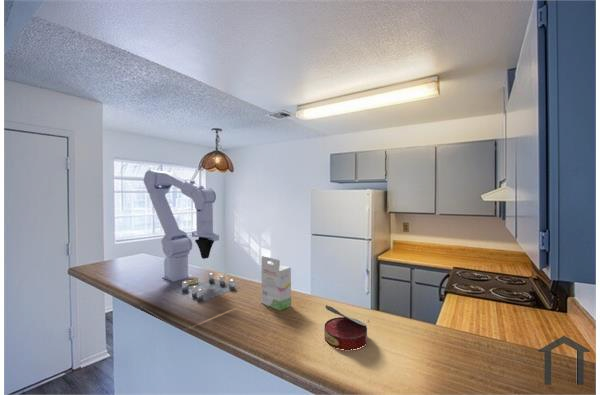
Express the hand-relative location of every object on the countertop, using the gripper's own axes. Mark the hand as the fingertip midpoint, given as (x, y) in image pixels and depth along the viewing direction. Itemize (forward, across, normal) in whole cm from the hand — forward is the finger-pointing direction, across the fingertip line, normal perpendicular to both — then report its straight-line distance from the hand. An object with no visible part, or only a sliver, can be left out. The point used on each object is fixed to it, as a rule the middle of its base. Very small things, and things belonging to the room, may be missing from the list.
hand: (205, 258), depth 105 cm
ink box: (+10, +34, +2) cm, 35 cm away
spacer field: (+9, +8, -4) cm, 13 cm away
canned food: (+10, +60, -2) cm, 61 cm away
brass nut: (+10, -3, -4) cm, 11 cm away
